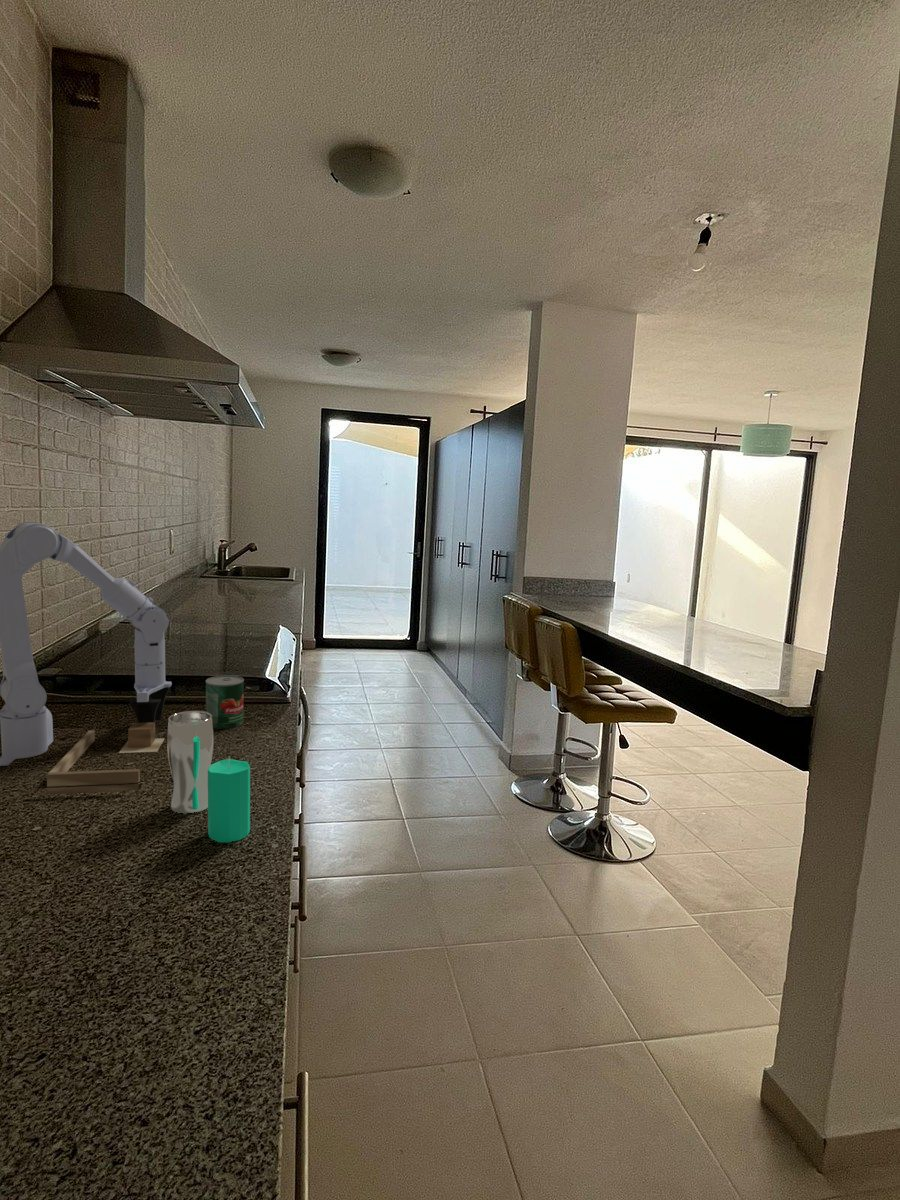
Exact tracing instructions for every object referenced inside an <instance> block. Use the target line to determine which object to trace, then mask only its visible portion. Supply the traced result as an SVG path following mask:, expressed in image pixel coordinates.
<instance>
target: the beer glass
mask: <svg viewBox="0 0 900 1200" xmlns="http://www.w3.org/2000/svg"><path fill="white" fill-rule="evenodd" d="M166 735H167V736H166V748H167V749H166V750H167V751H166V752H167V757H168V758H167V759H168V763H169V764H168V765H169V768H170V774H171V778H172V789H173V791H172V797H171V801H170V802H171V803H170V809H171V811H173V812H174V813H176V812H177V813H176V814H180V813H183V814H182V815H188V814H187V813H192V814H195V813H196V812H197V813H200V812H203V811H206V809H207V810H208V768H209V767H210V765H211V764H212V759H213V754H214V728H213V724H212V715H211V714H210V713H208V712H206V711H202V710H187V711H180V712H177V713H174V714H172V715H170V716H169V717H168V718H167V733H166ZM194 812H195V813H194Z"/></svg>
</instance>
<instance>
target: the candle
mask: <svg viewBox="0 0 900 1200" xmlns="http://www.w3.org/2000/svg"><path fill="white" fill-rule="evenodd" d="M250 831H251V765H250V764H249V762H248V761H246V760H244V761H243V760H238V759H232V758H231V757H230V756H228V758H227V759H222V760H217V761H216V762H214V763H211V765H210V767H209V768H208V808H207V836H208V835H209V836H208V838H209V839H210V838H211V839H213V840H215V841H214V842H216V841H217V843H232V841H233V842H237V841H241V840H243V839H244V838H246V837H247V836H248V835H249V834H250ZM211 839H210V840H211ZM213 840H212V841H213Z"/></svg>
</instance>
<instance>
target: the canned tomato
mask: <svg viewBox="0 0 900 1200" xmlns="http://www.w3.org/2000/svg"><path fill="white" fill-rule="evenodd" d="M244 681H245V679H244V678H243V677H241V676H238V675H216V676H212V677H208V678H207V679H206V680H205V712H208V713H210V714H211V715H212V724H213V729H219V730H220V729H222V730H223V729H232V728H236V727H239V726H241V725H242V724H243V723H244V707H245V706H244V697H245V695H244V692H245V691H244V689H245V688H244Z"/></svg>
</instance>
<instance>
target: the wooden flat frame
mask: <svg viewBox="0 0 900 1200" xmlns="http://www.w3.org/2000/svg"><path fill="white" fill-rule="evenodd" d="M95 733H96V731H95V730H94V729H93V730H88V731H87V732H86V733H85V734H83V736H82V737H81V738H80V739H79V740H78V741H77V742H76V744H75V745H73V747H72V748H71V749H70V750H68V751H67V753H66V754H65V755H64V756H63V757H62V758H61V759H60V760H59V761H58V763H56V765H54V766H53V768H51V770H50V771H48V773H47V774H46V787H47V788H46V789H47V790H46V791H47V795H64V794H86V793H107V792H108V793H109V792H111V793H112V792H131V791H133V790H135V791H140V789H141V787H142V786H141V785H143V783H140V781H141V777H140V776H141V769H140V768H133V769H132V768H131V769H108V770H107V769H106V770H105V769H104V770H103V769H102V770H82V771H81V770H78V771H76V770H75V771H70V769H71V768H72V767H73V766H74V764H76V762H77V761H78V760H79V759H80V758H81V757H82V756H83V754H84V753H85V752H86V751H87V750H88V749H89V747H91V745H92V744H93V743H94V742H95V741H96V737H95ZM165 739H166V738H165V737H161V738H160V737H157V738H156V737H155V740H154V742H153V744H152V745H151V746H144V747H129V744H128V740H127V741H126V742H125V744H123V746H122V747H121V749H120V750H119V752H118V754H131V753H157V752H158V751H159V749H160V748H161V746H162V744H163V743H164V741H165ZM135 791H134V792H135Z"/></svg>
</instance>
